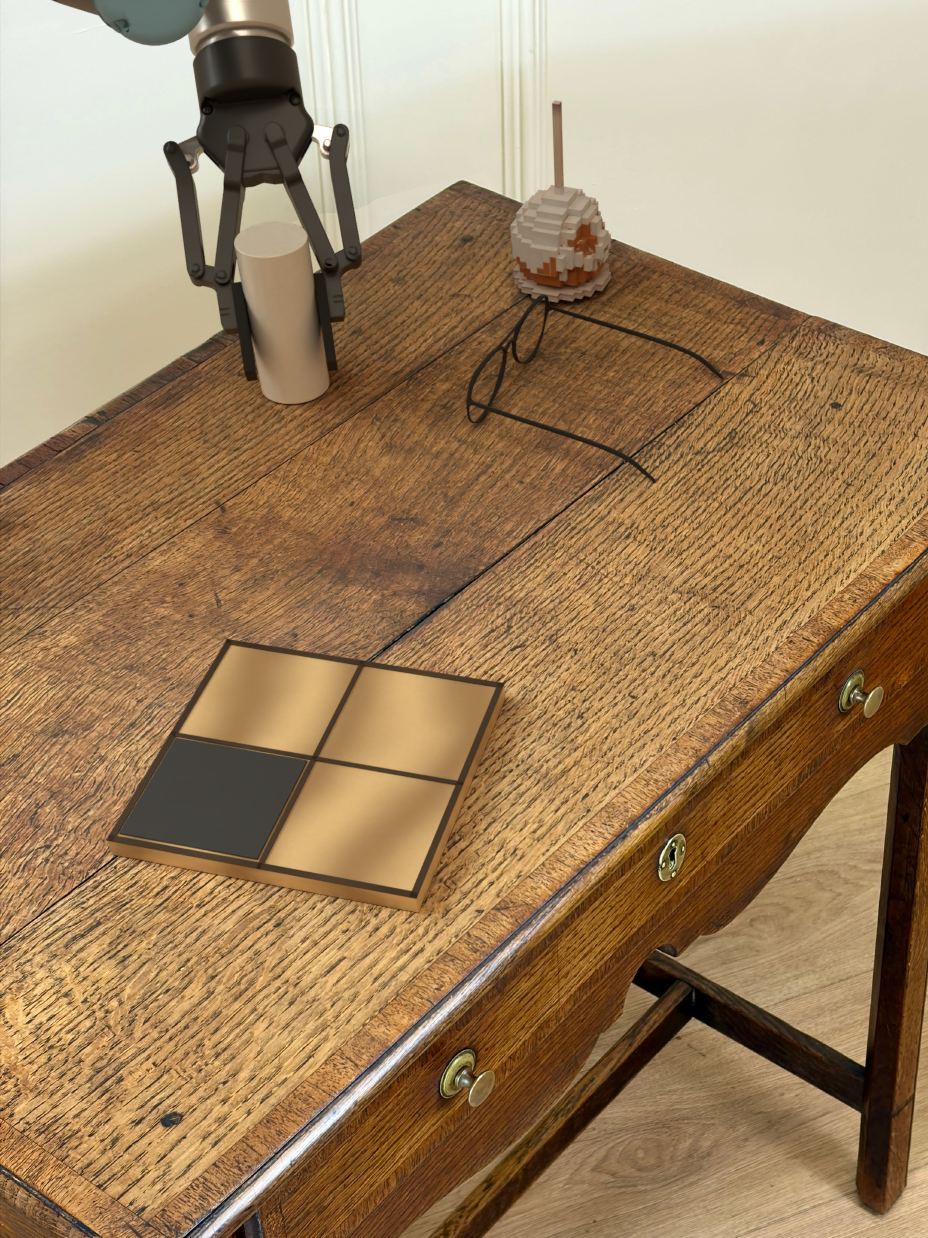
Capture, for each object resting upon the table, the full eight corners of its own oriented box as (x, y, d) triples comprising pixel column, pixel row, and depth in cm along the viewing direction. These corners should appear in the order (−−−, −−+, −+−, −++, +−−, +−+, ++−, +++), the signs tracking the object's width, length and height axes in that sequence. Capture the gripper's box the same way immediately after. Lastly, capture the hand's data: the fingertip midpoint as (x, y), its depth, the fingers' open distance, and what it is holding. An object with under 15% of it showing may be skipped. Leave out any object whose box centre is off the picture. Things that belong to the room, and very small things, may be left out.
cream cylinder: (250, 399, 119) (222, 252, 111) (276, 363, 123) (250, 217, 114) (315, 408, 118) (291, 260, 110) (339, 370, 122) (318, 224, 113)
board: (111, 854, 88) (105, 839, 87) (230, 654, 100) (226, 638, 99) (418, 913, 85) (416, 897, 84) (505, 698, 96) (504, 682, 95)
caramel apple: (589, 314, 127) (587, 131, 116) (500, 298, 129) (489, 117, 118) (622, 267, 132) (622, 88, 121) (535, 253, 134) (528, 75, 123)
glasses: (543, 339, 124) (547, 283, 121) (720, 397, 121) (730, 341, 117) (462, 437, 115) (464, 380, 112) (651, 502, 112) (660, 445, 108)
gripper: (369, 63, 120) (415, 368, 120) (125, 87, 118) (172, 398, 118) (368, 18, 112) (417, 343, 113) (107, 43, 110) (158, 374, 111)
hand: (291, 371), depth 116 cm, fingers closed on cream cylinder, 5 cm apart
